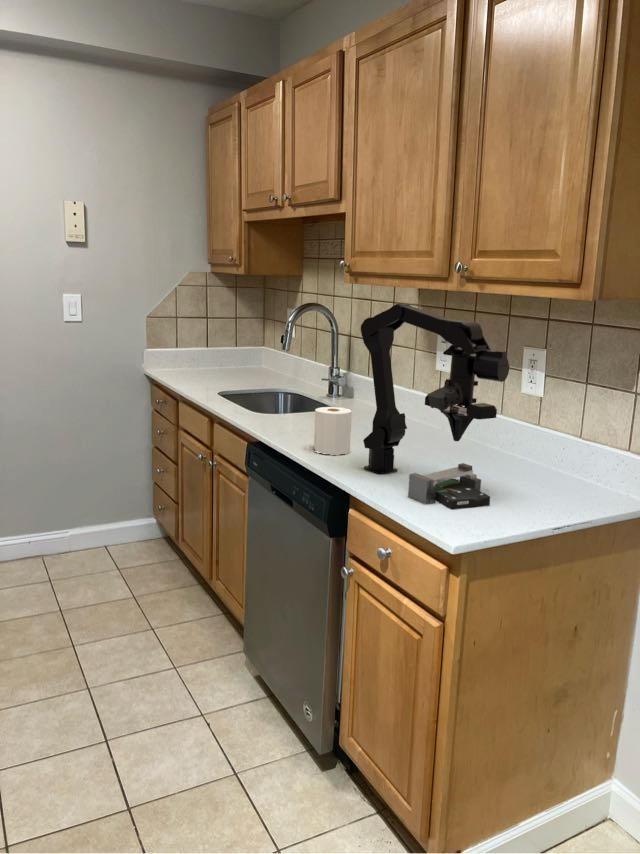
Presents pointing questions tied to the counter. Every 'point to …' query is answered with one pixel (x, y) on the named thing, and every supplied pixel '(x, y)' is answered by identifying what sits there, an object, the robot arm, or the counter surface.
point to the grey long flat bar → (451, 473)
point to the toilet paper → (332, 430)
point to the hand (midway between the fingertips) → (456, 441)
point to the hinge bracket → (422, 488)
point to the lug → (471, 481)
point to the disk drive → (460, 495)
